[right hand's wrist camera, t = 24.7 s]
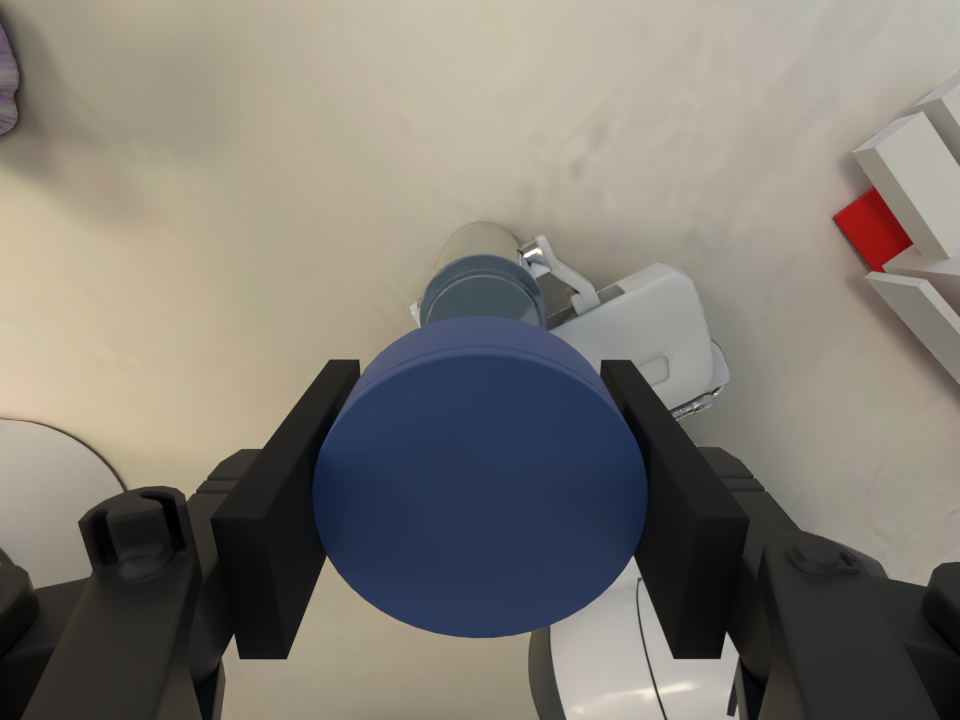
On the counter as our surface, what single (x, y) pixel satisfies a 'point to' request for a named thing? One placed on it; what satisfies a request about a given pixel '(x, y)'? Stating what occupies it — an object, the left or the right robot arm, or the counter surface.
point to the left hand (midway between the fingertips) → (474, 270)
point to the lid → (480, 481)
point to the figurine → (7, 85)
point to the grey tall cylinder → (483, 279)
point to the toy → (915, 220)
